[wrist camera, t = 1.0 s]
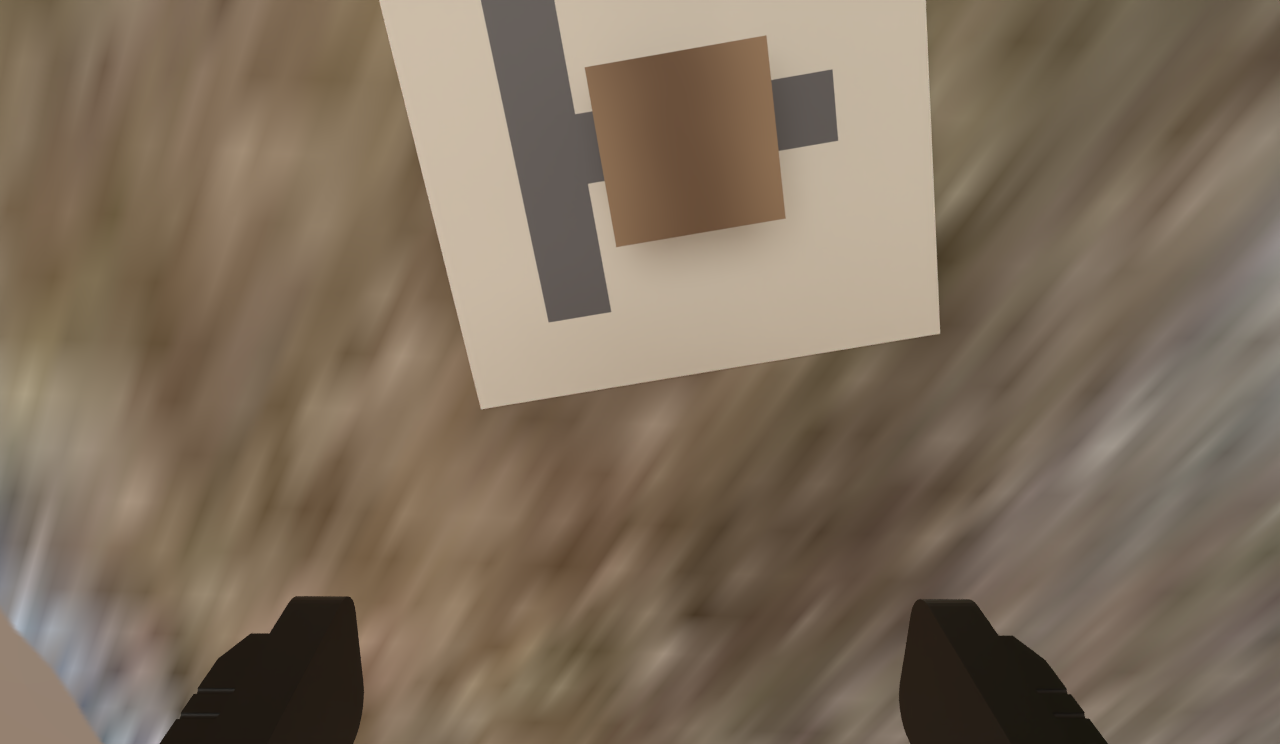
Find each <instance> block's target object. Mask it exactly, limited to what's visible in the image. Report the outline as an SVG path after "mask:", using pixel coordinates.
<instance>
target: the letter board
mask: <svg viewBox="0 0 1280 744" xmlns="http://www.w3.org/2000/svg"><path fill="white" fill-rule="evenodd" d="M379 1H380V5H381V9H382V13H383V17H384V21H385V25H386V30H387V34H388V38H389V42H390V46H391V50H392V54H393V58H394V62H395V66H396V70H397V74H398V78H399V82H400V86H401V90H402V94H403V98H404V102H405V106H406V110H407V114H408V118H409V122H410V126H411V130H412V134H413V138H414V142H415V146H416V150H417V154H418V158H419V162H420V166H421V170H422V174H423V178H424V182H425V186H426V190H427V194H428V198H429V202H430V206H431V210H432V214H433V218H434V222H435V226H436V230H437V234H438V238H439V242H440V246H441V250H442V254H443V258H444V262H445V266H446V270H447V275H448V279H449V283H450V287H451V291H452V295H453V299H454V303H455V307H456V311H457V315H458V319H459V323H460V327H461V331H462V335H463V339H464V343H465V347H466V351H467V355H468V359H469V363H470V367H471V371H472V375H473V379H474V383H475V387H476V391H477V395H478V399H479V403H480V407H481V409H486V408H492V407H498V406H504V405H510V404H516V403H522V402H528V401H534V400H540V399H546V398H552V397H558V396H564V395H571V394H577V393H583V392H589V391H595V390H601V389H607V388H613V387H619V386H625V385H631V384H637V383H643V382H649V381H655V380H662V379H668V378H674V377H680V376H686V375H692V374H698V373H704V372H710V371H716V370H722V369H728V368H734V367H740V366H746V365H753V364H759V363H765V362H771V361H777V360H783V359H789V358H795V357H801V356H807V355H813V354H819V353H825V352H831V351H837V350H844V349H850V348H856V347H862V346H868V345H874V344H880V343H886V342H892V341H898V340H904V339H910V338H916V337H922V336H928V335H935V334H940V319H939V296H938V273H937V250H936V227H935V204H934V181H933V158H932V135H931V112H930V89H929V66H928V43H927V20H926V0H379ZM765 35H766V36H767V45H768V55H769V64H770V74H771V83H772V93H773V102H774V112H775V122H776V131H777V141H778V150H779V160H780V169H781V179H782V188H783V198H784V207H785V217H786V219H780V220H774V221H768V222H762V223H756V224H750V225H744V226H739V227H733V228H727V229H721V230H715V231H709V232H703V233H697V234H691V235H686V236H680V237H674V238H668V239H662V240H656V241H650V242H644V243H638V244H633V245H627V246H621V247H616V243H615V237H614V231H613V226H612V220H611V214H610V209H609V203H608V197H607V192H606V186H605V180H604V175H603V169H602V163H601V158H600V152H599V146H598V141H597V135H596V129H595V123H594V118H593V112H592V106H591V101H590V95H589V89H588V84H587V78H586V72H585V67H589V66H595V65H601V64H606V63H612V62H618V61H624V60H629V59H635V58H641V57H646V56H652V55H658V54H663V53H669V52H675V51H680V50H686V49H692V48H697V47H703V46H709V45H714V44H720V43H726V42H731V41H737V40H743V39H748V38H754V37H760V36H765Z"/></svg>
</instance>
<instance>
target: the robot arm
mask: <svg viewBox="0 0 1280 744" xmlns="http://www.w3.org/2000/svg"><path fill="white" fill-rule="evenodd" d="M363 699H364V686H363V676H362V666H361V657H360V648H359V639H358V630H357V620H356V612H355V606H354V602H353V600H352V599H351V597H323V596H296V597H294V598H293V599H292V600H291V601H290V602H289V603H288V605H287V607H286V608H285V610H284V611H283V613H282V615H281V616H280V618H279V619H278V621H277V623H276V624H275V626H274V627H273V629H272V631H271V632H270V634H250V635H248V636H247V637H246V638H244V639H243V640H242V641H240V642H239V643H238V644H237V645H235V646H234V647H233V648H231V649H230V650H229V651H227V652H226V653H225V654H224V655H222V656H221V657H220V658H218V660H217V661H216V662H215V664H214V665H213V667H212V668H211V670H210V671H209V673H208V674H207V676H206V677H205V678H204V680H203V681H202V683H201V684H200V686H199V687H198V692H197V694H193V696H192V697H191V699H190V700H189V702H188V703H187V705H186V706H185V707H184V709H183V710H182V712H181V717H180V719H176V720H175V722H174V723H173V725H172V726H171V728H170V729H169V731H168V732H167V734H166V735H165V736H164V738H163V739H162V741H161V742H160V744H353V743H354V740H355V738H356V735H357V732H358V729H359V725H360V721H361V716H362V709H363ZM899 703H900V712H901V718H902V722H903V726H904V729H905V732H906V735H907V737H908V739H909V741H910V744H1108V743H1107V742H1106V741H1105V739H1104V738H1103V737H1102V735H1101V734H1100V733H1099V731H1098V730H1097V729H1096V727H1095V726H1094V725H1093V723H1092V722H1091V721H1090V719H1086V718H1085V716H1084V711H1083V710H1082V709H1081V707H1080V706H1079V705H1078V703H1077V702H1076V701H1075V699H1074V698H1073V697H1072V695H1071V694H1067V689H1066V687H1065V686H1064V685H1063V683H1062V682H1061V681H1060V679H1059V678H1058V676H1057V675H1056V674H1055V672H1054V671H1053V670H1052V668H1051V667H1050V666H1049V664H1048V663H1047V662H1046V660H1044V659H1043V658H1042V657H1040V656H1039V655H1038V654H1036V653H1035V652H1034V651H1032V650H1031V649H1030V648H1028V647H1027V646H1026V645H1024V644H1023V643H1022V642H1020V641H1019V640H1018V639H1016V638H1015V637H1014V636H998V634H997V633H996V631H995V630H994V629H993V627H992V626H991V624H990V623H989V621H988V620H987V618H986V617H985V616H984V614H983V613H982V611H981V610H980V608H979V607H978V606H977V604H976V603H975V602H973V601H972V600H949V599H919V600H917V601H916V602H915V603H914V605H913V608H912V612H911V617H910V623H909V630H908V636H907V642H906V649H905V655H904V661H903V667H902V674H901V680H900V688H899Z"/></svg>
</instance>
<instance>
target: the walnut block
mask: <svg viewBox="0 0 1280 744" xmlns="http://www.w3.org/2000/svg"><path fill="white" fill-rule="evenodd" d="M585 72H586V78H587V84H588V89H589V95H590V101H591V106H592V112H593V118H594V123H595V129H596V135H597V141H598V146H599V152H600V158H601V163H602V169H603V175H604V180H605V186H606V192H607V197H608V203H609V209H610V214H611V220H612V226H613V231H614V237H615V243H616V247H621V246H627V245H633V244H638V243H644V242H650V241H656V240H662V239H668V238H674V237H680V236H686V235H691V234H697V233H703V232H709V231H715V230H721V229H727V228H733V227H739V226H744V225H750V224H756V223H762V222H768V221H774V220H780V219H786V217H785V207H784V198H783V188H782V179H781V169H780V160H779V150H778V141H777V131H776V122H775V112H774V102H773V93H772V83H771V74H770V64H769V55H768V45H767V36H766V35H765V36H760V37H754V38H748V39H743V40H737V41H731V42H726V43H720V44H714V45H709V46H703V47H697V48H692V49H686V50H680V51H675V52H669V53H663V54H658V55H652V56H646V57H641V58H635V59H629V60H624V61H618V62H612V63H606V64H601V65H595V66H589V67H585Z"/></svg>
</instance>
